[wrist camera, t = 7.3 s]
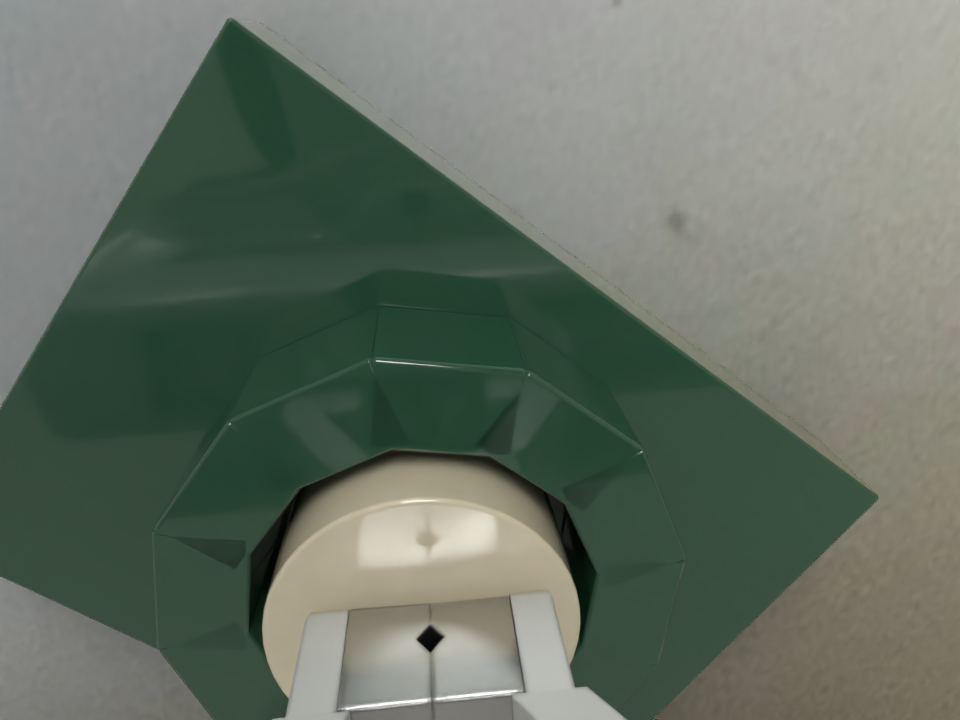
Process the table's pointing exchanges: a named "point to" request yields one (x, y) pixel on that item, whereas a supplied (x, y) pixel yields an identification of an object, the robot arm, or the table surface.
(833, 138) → the table surface
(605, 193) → the table surface
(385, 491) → the cream short cylinder
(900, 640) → the table surface
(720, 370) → the green peg board
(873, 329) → the table surface
